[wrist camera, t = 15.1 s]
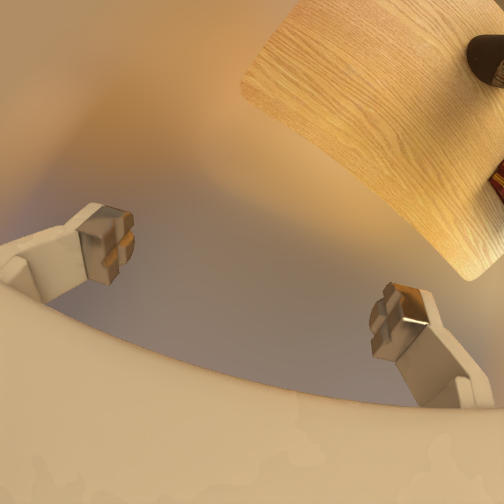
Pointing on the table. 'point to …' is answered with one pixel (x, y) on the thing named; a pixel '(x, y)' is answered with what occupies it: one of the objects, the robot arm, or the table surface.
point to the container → (487, 59)
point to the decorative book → (499, 181)
